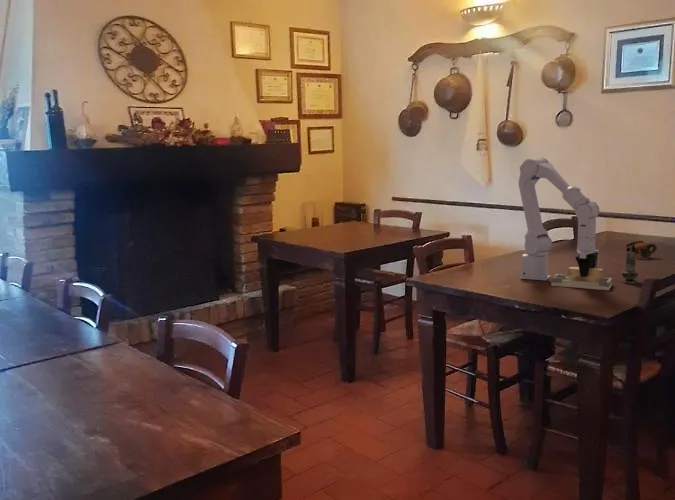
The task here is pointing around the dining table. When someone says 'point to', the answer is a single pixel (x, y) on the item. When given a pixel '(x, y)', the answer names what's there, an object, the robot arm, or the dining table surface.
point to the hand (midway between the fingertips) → (584, 275)
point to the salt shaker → (630, 268)
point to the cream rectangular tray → (581, 283)
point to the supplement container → (595, 259)
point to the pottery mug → (641, 249)
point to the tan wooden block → (593, 276)
